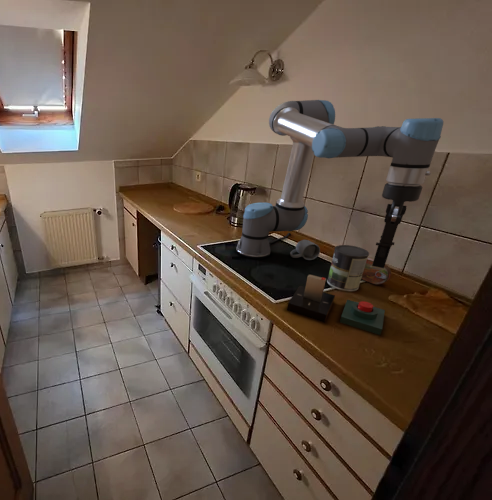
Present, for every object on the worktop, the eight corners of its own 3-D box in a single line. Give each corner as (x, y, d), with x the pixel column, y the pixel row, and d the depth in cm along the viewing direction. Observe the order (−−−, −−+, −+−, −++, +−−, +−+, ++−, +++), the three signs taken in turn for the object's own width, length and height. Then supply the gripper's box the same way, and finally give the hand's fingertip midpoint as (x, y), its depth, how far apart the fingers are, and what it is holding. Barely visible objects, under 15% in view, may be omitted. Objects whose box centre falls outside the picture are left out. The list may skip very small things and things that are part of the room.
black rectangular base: (298, 292, 108) (299, 285, 107) (333, 302, 101) (335, 294, 100) (286, 310, 98) (288, 302, 97) (324, 323, 91) (326, 314, 90)
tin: (343, 271, 121) (348, 252, 118) (348, 270, 123) (353, 251, 119) (383, 288, 109) (390, 267, 105) (388, 286, 110) (395, 266, 107)
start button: (358, 304, 94) (359, 299, 93) (372, 308, 91) (373, 303, 91) (356, 309, 91) (358, 305, 90) (371, 314, 89) (372, 309, 88)
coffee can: (327, 287, 110) (335, 253, 105) (326, 276, 119) (334, 243, 113) (360, 294, 106) (371, 258, 100) (357, 281, 114) (366, 247, 109)
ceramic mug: (309, 252, 140) (311, 237, 137) (318, 260, 132) (321, 243, 129) (286, 253, 140) (288, 238, 137) (294, 261, 132) (297, 245, 129)
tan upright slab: (303, 297, 99) (307, 275, 96) (304, 295, 101) (309, 273, 97) (320, 302, 96) (325, 280, 93) (321, 300, 98) (326, 278, 94)
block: (345, 305, 100) (348, 294, 98) (382, 315, 94) (386, 305, 92) (339, 322, 91) (342, 311, 90) (380, 335, 86) (384, 324, 84)
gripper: (424, 189, 69) (393, 278, 79) (422, 181, 79) (395, 261, 88) (383, 186, 74) (359, 271, 83) (386, 178, 83) (364, 255, 92)
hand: (378, 266), depth 86 cm, fingers closed
